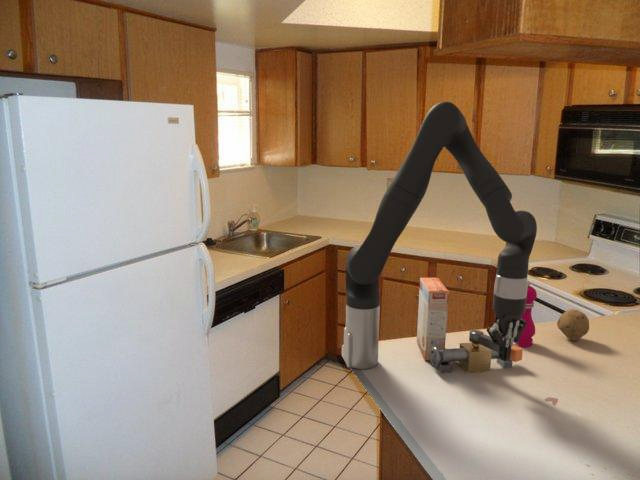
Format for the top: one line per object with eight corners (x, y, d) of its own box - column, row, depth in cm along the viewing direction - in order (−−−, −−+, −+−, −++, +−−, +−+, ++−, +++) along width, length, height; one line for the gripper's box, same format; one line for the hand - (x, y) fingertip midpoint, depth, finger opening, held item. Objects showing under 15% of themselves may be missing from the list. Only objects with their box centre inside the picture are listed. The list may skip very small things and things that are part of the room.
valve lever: (466, 340, 140) (466, 330, 139) (475, 338, 141) (476, 328, 141) (513, 362, 127) (514, 351, 126) (523, 359, 128) (524, 348, 128)
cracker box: (445, 361, 144) (449, 291, 140) (424, 361, 144) (427, 290, 140) (435, 341, 158) (439, 276, 153) (416, 341, 158) (419, 276, 153)
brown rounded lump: (549, 338, 160) (553, 308, 158) (564, 331, 166) (567, 302, 164) (578, 348, 153) (582, 316, 151) (592, 340, 159) (596, 310, 157)
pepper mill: (508, 345, 155) (513, 282, 151) (509, 337, 161) (514, 276, 157) (533, 349, 152) (540, 285, 148) (534, 340, 159) (540, 279, 154)
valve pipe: (437, 375, 136) (438, 349, 134) (428, 365, 142) (430, 340, 140) (519, 368, 140) (522, 343, 138) (508, 359, 146) (510, 335, 144)
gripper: (505, 302, 117) (499, 371, 121) (540, 292, 124) (533, 358, 128) (479, 293, 123) (474, 360, 127) (514, 285, 130) (508, 348, 134)
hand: (504, 359), depth 127 cm, fingers closed
